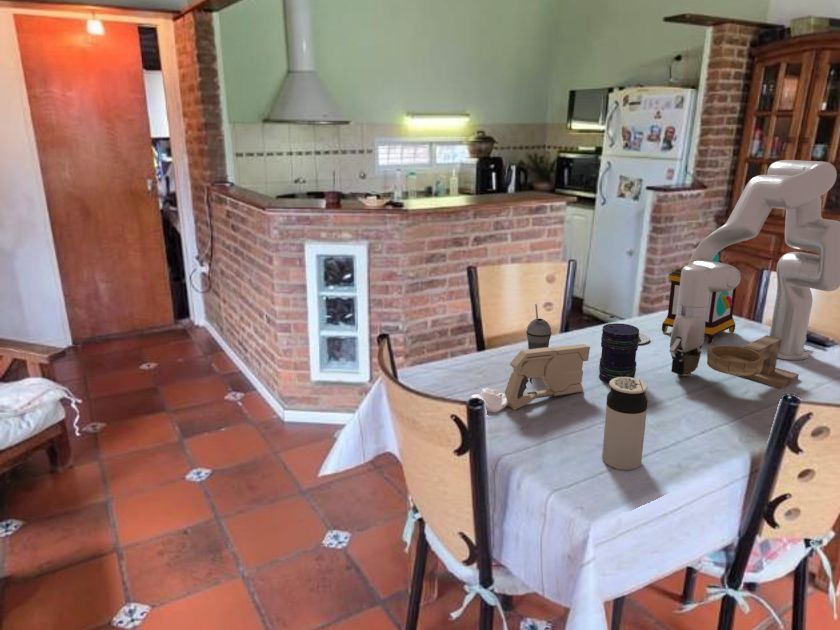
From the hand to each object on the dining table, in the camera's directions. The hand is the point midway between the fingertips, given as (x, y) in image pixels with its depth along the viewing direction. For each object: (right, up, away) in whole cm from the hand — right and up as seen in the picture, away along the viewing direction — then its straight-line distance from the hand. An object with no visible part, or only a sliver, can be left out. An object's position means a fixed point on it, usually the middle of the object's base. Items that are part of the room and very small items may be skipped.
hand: (684, 369), depth 167 cm
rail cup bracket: (+14, -4, -6) cm, 16 cm away
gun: (-42, -7, -11) cm, 44 cm away
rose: (-57, -8, -13) cm, 59 cm away
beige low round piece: (-4, +7, +31) cm, 32 cm away
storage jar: (-19, -3, 0) cm, 20 cm away
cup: (0, -2, +1) cm, 2 cm away
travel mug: (-32, -16, -41) cm, 54 cm away
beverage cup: (-40, -1, +8) cm, 41 cm away
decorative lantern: (+20, +9, +35) cm, 42 cm away
